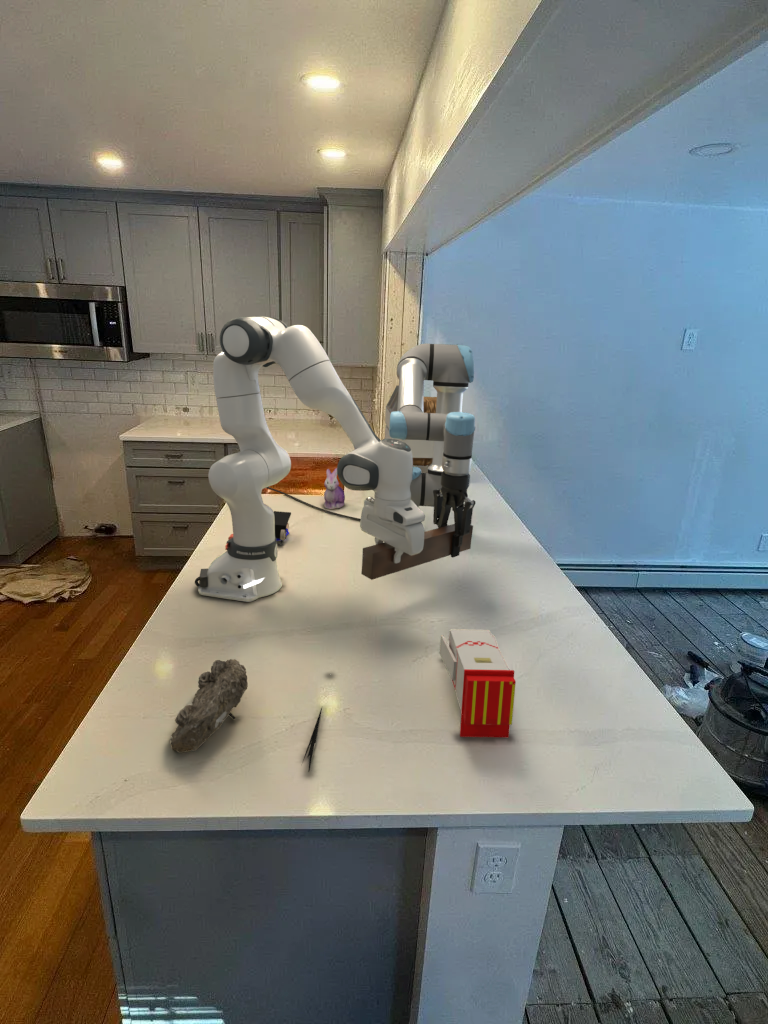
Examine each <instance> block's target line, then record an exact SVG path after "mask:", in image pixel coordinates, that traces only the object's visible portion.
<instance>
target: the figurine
mask: <svg viewBox="0 0 768 1024" xmlns="http://www.w3.org/2000/svg"><path fill="white" fill-rule="evenodd" d="M338 480H339V479H338V474H337V467H336V468H334V470H333V471H332V472H331V469H330V468H327V469H326V479H325V481H324V484H323V485H324V487H325V490H324V493H323V499H324V502H323V505H324V508H325V509H331V510H334V509H339V508H342V507H343V506H345V501H346V494H345V491H344V490H343V488H342V487H341V486H339V485H340V483H339V481H338Z"/></svg>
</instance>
